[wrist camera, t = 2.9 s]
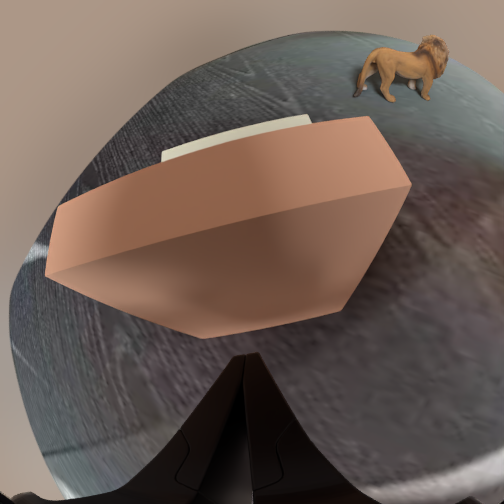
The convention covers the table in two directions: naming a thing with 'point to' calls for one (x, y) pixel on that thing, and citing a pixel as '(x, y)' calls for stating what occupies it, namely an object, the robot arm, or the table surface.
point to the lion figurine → (406, 66)
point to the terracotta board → (236, 230)
